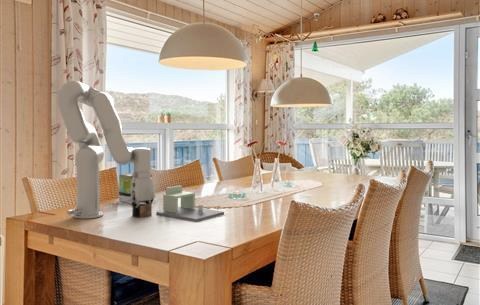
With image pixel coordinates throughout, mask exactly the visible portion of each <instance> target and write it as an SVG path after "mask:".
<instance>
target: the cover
mask: <svg viewBox="0 0 480 305" xmlns="http://www.w3.org/2000/svg"><path fill="white" fill-rule="evenodd" d="M162 198H163V199H162V200H163V201H162V205H163V206H162V211H169V212H175V213H177V212H178V207H179V199H180V207H186V208H192V209H194V208H195V207H196V193H195V192H191V191H184V190H183V185H174V186H168V187H165V194H163V197H162Z"/></svg>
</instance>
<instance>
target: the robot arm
mask: <svg viewBox="0 0 480 305" xmlns="http://www.w3.org/2000/svg"><path fill="white" fill-rule="evenodd" d="M56 103H57V107H58V110H59V112H60V115H61V117H62V121H63V123H64V126H65V128H66V131H67V134H68V137H69V139H70V140H71V141H72V142H73V143H75V144H77V145H78V146H79V148H78V150H76V153H75V159H74V160H75V168H76V206H74V208H73V209H68V210H66V214H67V215H68V216H70V215H72V217H73V218H75V219H80V220H81V219H82V220H83V219H96V218H100V217H103V216H104V212H103V211H101V204H100V203H101V196H100V194H101V192H100V190H101V182H100V181H101V180H100V179H101V177H100V166H99V165H100V163H101V162H102V161H103V160H104V157H105V156H104V155H105V152H104V149H103V147H102V144H101V141H100V139H99V136H98V134H97V131H96V129H95V127H94V126H93V125H92V124H91V123H88V122H87V121H86V119H85V117H84V114H83V111H82V109H81V107H80V104H79V103H82V104H84V105H86V106H88V107H91V108H92V109H93V112H94V114H95V116H96V119H97V121H98V123H99V125H100V127H101V129H102V133H103V136H104V139H105V143H106V145H107V146H106V147H107V148H108V151H109V152H110V154H111V157H112V159H113V160H114V162H115V163H116V164H118V165H120V166H125V165H127V164H130V163H131V164H133V173H134V174H132V176H133V177H134V179H133V180H132V187H131V196H130V198H129V199H128V202H129V203H128V204H130V205H131V208H132V207H133V215H134V216H133V217H135V216H137V217H136V218H139V217H138V216H139V207H138V206H139V204H141V203H140V202H144V204H150V205H152V203H153V201H154V200H155V198H156V195H155V192H154V191H155V189H154V182H153V177H152V178H151V174H152V170H151V168H152V166H151V165H152V164H151V162H152V152H151V151H152V150H151V149H150V148H149V147H148V148H147V147H130V146H129V147H128V146H127V144H126V141H125V138H124V135H123V132H122V123H121V120H120V117H119V115H118V113H117V110H116V109H115V105H114V104H115V102H114V99H113V97H112V96H111V95H110V94H108V93H106V92H104V91H101V90H99V89H96V88H94V87H92V86H90V85H88V84H85V83H83V82H80V81H78V80H69V81H66V82H65V83H63V85H61V86H60V88H59V90H58V91H57V97H56Z"/></svg>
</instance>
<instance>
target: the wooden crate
mask: <svg viewBox="0 0 480 305" xmlns="http://www.w3.org/2000/svg"><path fill="white" fill-rule="evenodd" d="M138 207H139V216H138V217H137V216H134V215H133V207H132V206H131V208H132V210H131V211H132V214H131V215H132V217H136V218H140V219H141V218H143V219H144V218H147V217H151V216H152V215H153V214H152V213H153V212H152V210H153V209H152V208H153V207H152V205H150V204H146V203H145V202H144V203H142V202H141V203H139V206H138Z"/></svg>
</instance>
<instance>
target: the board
mask: <svg viewBox="0 0 480 305" xmlns="http://www.w3.org/2000/svg"><path fill="white" fill-rule="evenodd" d="M155 214H156V215H157V216H162V217H168V218H173V219H179V220H185V221H191V222H196V223H197V222H200V221H201V222H202V221H204V220H208V219H212V218H215V217H220V216H223V215H225V211H221V210H216V209H209V208H204V205H203V204H202V203H201V204H198V207H197V206H195V208H194V209H192V208H186V207H181V206H178V212H177V213H175V212H169V211H163V210H159V211H156V213H155Z"/></svg>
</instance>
